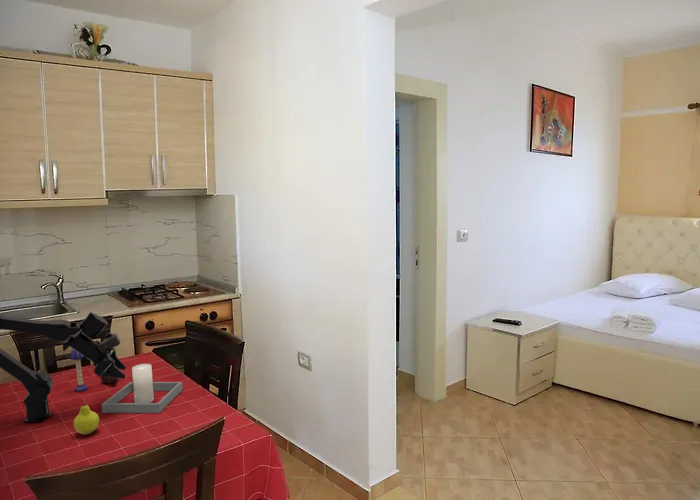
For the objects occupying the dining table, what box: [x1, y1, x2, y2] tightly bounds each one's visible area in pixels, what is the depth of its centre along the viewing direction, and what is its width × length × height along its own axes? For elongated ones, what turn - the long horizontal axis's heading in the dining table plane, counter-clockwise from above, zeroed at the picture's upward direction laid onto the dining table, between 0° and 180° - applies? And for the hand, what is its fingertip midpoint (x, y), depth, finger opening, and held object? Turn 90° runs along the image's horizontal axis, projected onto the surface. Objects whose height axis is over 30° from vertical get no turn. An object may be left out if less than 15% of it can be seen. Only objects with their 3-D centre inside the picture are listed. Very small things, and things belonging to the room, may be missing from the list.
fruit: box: [73, 397, 100, 436], centre depth 161 cm, size 7×7×12 cm
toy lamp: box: [69, 348, 88, 393], centre depth 196 cm, size 5×5×17 cm
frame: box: [101, 381, 184, 414], centre depth 185 cm, size 20×20×3 cm
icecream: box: [99, 375, 119, 384], centre depth 204 cm, size 7×7×15 cm
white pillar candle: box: [131, 363, 155, 403], centre depth 185 cm, size 6×6×12 cm
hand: (124, 373), depth 182 cm, fingers open, 9 cm apart
